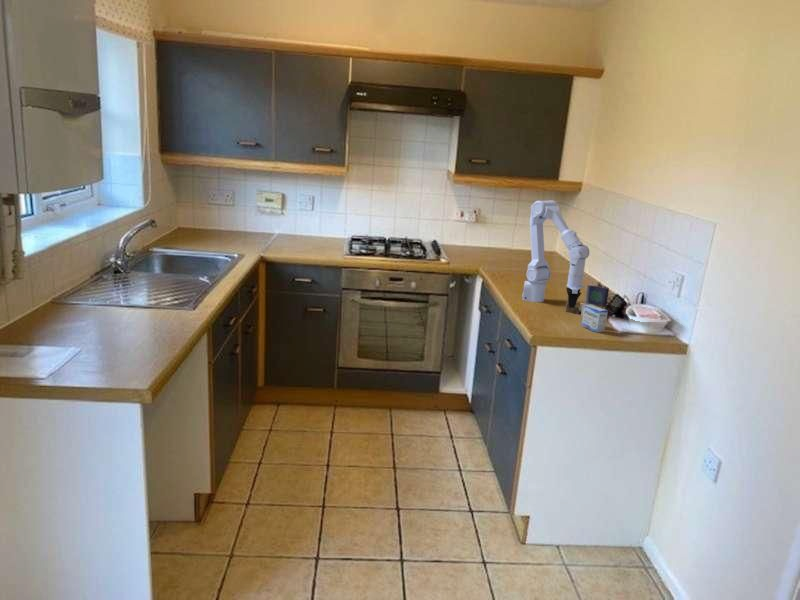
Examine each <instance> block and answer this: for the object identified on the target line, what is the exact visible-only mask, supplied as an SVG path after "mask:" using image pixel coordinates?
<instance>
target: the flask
mask: <svg viewBox="0 0 800 600" xmlns="http://www.w3.org/2000/svg"><path fill="white" fill-rule="evenodd" d="M596 284H597V285H596ZM596 284H588V285H587V288H586V293H585V294H586V295H585V300H584V304H593V305H594V306H599V307H607V306H606V304H608V299H609V294H610V293H609V292H610V288H609V287H608V286H605V285H602V284H601V281H599V282H596Z"/></svg>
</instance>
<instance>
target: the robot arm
mask: <svg viewBox="0 0 800 600" xmlns="http://www.w3.org/2000/svg"><path fill="white" fill-rule="evenodd" d="M547 219H548V220H551V221H552V223H553V224H554V225H555V227H556V228H557V230H558V231H559V232H560V234H561V236H560V238H561V240H562V242H563V244H564V245H565V246H566V248H567V250H568V257H569V270H568V275H567V284H566V293H567V297H568V298H569V308H574V307H576V304H577V301H578V300H579V298H580V296H581V295H582V292H581V289H585V285H583V280H584V279H583V278H584V274H585V273H584V272H585V265H586V259H588V257H589V256H590V249H589V246H588V245H586V244H584V243H583V242H582V241H581V239H580V238H579V237H578V235H577V232H576V231H575V230H573V229H570V228H569V226H568V225H567V222H566V221H565V218H564V217H563V215H562V213H561V212H560V206H559V205H558V203H557V202H556V201H555V200H552V199H551V200H536V201H534V203H532V205H531V206H530V217H529V235H530V236H529V237H530V252H531V253H530V254H531V261H530V262H529V263H528V264H527V269H526V270H527V271H526V278H527V280H524V284H523V292H522V294H521V295H522V296H521V297H522V301H527V302H533V303H543V302H544V301H545V295H546V294H545V293H546V286H547V282H548V280H549V279H550V278H551V275H552V273H551V272H552V271H551V268H550V267H549V265H550V264H549V263H548V261H547V260H546V259H545V257H546V256H545V241H544V238H545V237H544V222H545V221H546V220H547Z"/></svg>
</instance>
